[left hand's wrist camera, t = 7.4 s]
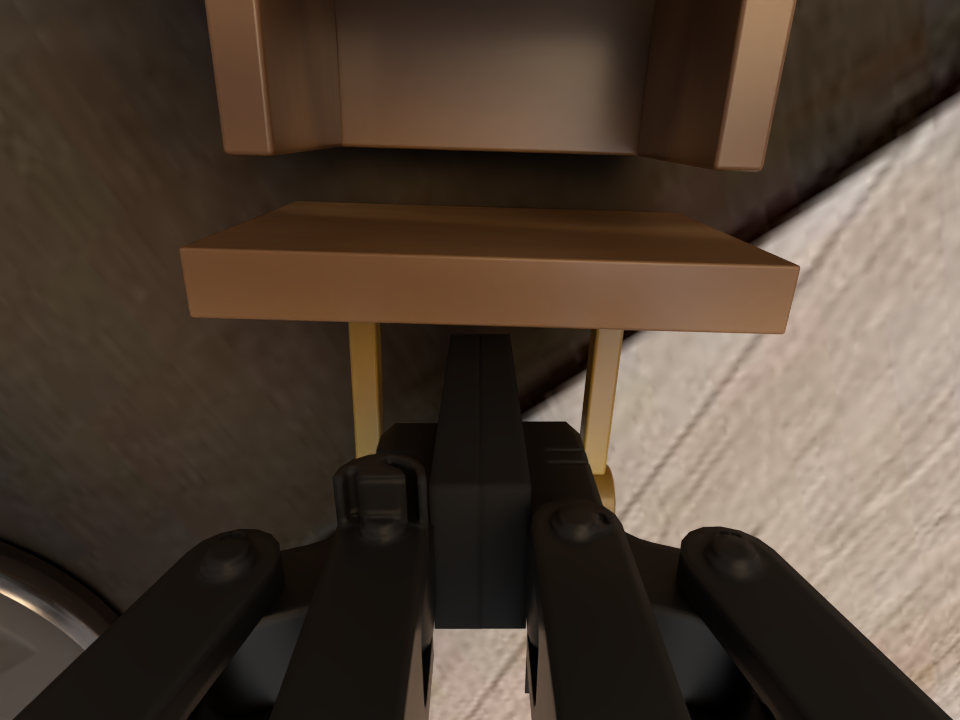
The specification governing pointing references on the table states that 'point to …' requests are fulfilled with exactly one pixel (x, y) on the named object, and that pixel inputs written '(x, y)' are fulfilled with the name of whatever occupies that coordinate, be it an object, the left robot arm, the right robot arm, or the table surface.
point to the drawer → (498, 128)
